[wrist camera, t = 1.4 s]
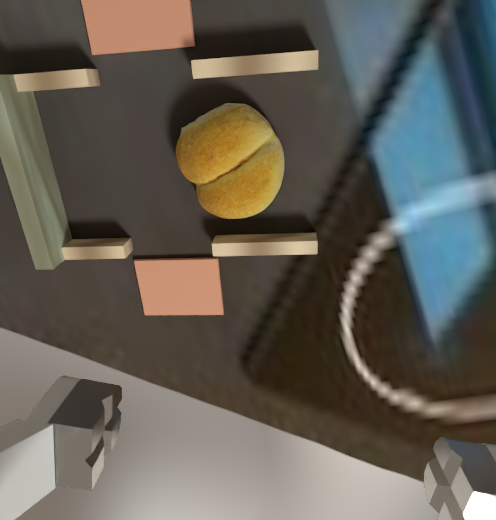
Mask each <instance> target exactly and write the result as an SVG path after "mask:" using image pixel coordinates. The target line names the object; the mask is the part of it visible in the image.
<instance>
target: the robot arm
mask: <svg viewBox="0 0 496 520" xmlns="http://www.w3.org/2000/svg"><path fill="white" fill-rule="evenodd" d="M121 399H122V388H121V387H120V386H119V385H114V384H107V383H103V382H97V381H92V380H86V379H79V378H73V377H68V376H62V377H60V378H58V379H57V380H56V382H55V383H54V384H53V385H52V386H51V388H50V389H49V390H48V391H47V392H46V394H45V395H44V396H43V397H42V398H41V400H40V401H39V402H38V403H37V404H36V406H35V407H34V408H33V409H32V411H31V412H30V413H29V414H28V415H27V417H26V418H25V419H24V420H23V419H16V420H14V421H12V422H10V423H8V424H6V425H4V426H2V427H0V520H15V519H16V518H17V517H19V516H20V515H21V514H23V513H24V512H25V511H26V510H28V509H29V508H30V507H32V506H33V505H34V504H35V503H37V502H38V501H39V500H41V499H42V498H43V497H44V496H46V495H47V494H48V493H49V492H50V491H52V490H53V489H55V486H63V487H70V488H78V489H85V490H92V489H93V487H94V485H95V483H96V481H97V479H98V477H99V475H100V473H101V471H102V469H103V467H104V456H105V455H106V454H108V453H109V452H111V451H112V449H113V446H114V444H115V442H116V439H117V436H118V433H119V429H120V423H121V412H120V410H119V409H118V408H117V407H118V405H119V403H120V401H121ZM433 450H434V452H435V454H436V456H437V457H435V458H434V459H432V460H431V461H429V462H428V463H427V466H426V469H425V472H424V488H425V493H426V496H427V499H428V501H429V504H430V505H431V506H432V507H433V508H434V509H435V510H436V511H437V512H438V513H439V515H438V518H437V520H496V445H491V444H484V443H480V444H479V443H474V442H468V441H461V440H455V439H448V438H442V437H440V438H439V439H438V440H437V441H436V443H435V446H434V448H433Z"/></svg>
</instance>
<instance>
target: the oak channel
mask: <svg viewBox="0 0 496 520" xmlns="http://www.w3.org/2000/svg"><path fill="white" fill-rule="evenodd" d="M191 64H192V73H193V79H199V78H212V77H225V76H239V75H252V74H265V73H279V72H292V71H305V70H317V69H318V50H313V51H301V52H288V53H276V54H264V55H251V56H239V57H226V58H214V59H201V60H191ZM92 86H101V85H100V80H99V75H98V70H97V69H77V70H65V71H52V72H40V73H28V74H15V75H0V157H1V160H2V163H3V167H4V170H5V173H6V176H7V179H8V182H9V186H10V189H11V192H12V195H13V198H14V201H15V205H16V208H17V211H18V214H19V217H20V220H21V224H22V227H23V230H24V233H25V236H26V239H27V243H28V246H29V249H30V252H31V255H32V258H33V262H34V265H35V268H36V270H37V269H54V268H55V267H56V266H58V265H59V264H60V263H61V262H63V261H64V260H72V259H118V258H126V257H127V256H128V255H129V254H130V253H131V252H132V251H133V245H132V240H131V238H104V239H72V236H71V232H70V228H69V225H68V221H67V217H66V213H65V210H64V206H63V202H62V198H61V194H60V191H59V187H58V183H57V179H56V176H55V172H54V168H53V164H52V160H51V157H50V153H49V149H48V145H47V142H46V138H45V134H44V130H43V127H42V123H41V119H40V115H39V111H38V108H37V104H36V100H35V96H34V93H33V91H39V90H52V89H65V88H79V87H92ZM212 251H213V256H253V255H298V254H317V235H316V233H281V234H245V235H216V236H215V238H214V240H213V242H212Z"/></svg>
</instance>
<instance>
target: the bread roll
mask: <svg viewBox="0 0 496 520" xmlns="http://www.w3.org/2000/svg"><path fill="white" fill-rule="evenodd" d="M176 157H177V162H178V166H179V168H180V170H181V172H182V173H183V175H184V176H185V177H186V178H187V179H188V180H189V181H191V182H193V183H195V185H196V193H197V198H198V201H199V203H200V204H201V206H202V207H203V208H204V209H205V210H207V211H208V212H210V213H212V214H214V215H216V216H219V217H221V218H228V219H238V218H246V217H250V216H253V215H255V214H257V213H259V212H261V211H263V210H264V209H265V208H266V207H267V206H268V205H269V204H270V203H271V202H272V201H273V199H274V198H275V196H276V194H277V192H278V190H279V188H280V186H281V183H282V179H283V174H284V153H283V148H282V145H281V143H280V140H279V139H278V137H277V136H276V134H275V133H274V131H273V129H272V127H271V125H270V124H269V122H268V121H267V120H266V119H265V118H264V117H263V116H262V115H261V114H260V113H259V112H258V111H256V110H255V109H253V108H252V107H250V106H249V105H246V104H238V103H225V104H224V105H221V106H219V107H217V108H215V109H213V110H211V111H209V112H207V113H206V114H204V115H202V116H200V117H198V118H197V119H196V120H195V121H194V122H192V123H189V124H188V125H187V126H185V127H183V128H181V135H180V137H179V140H178V142H177V146H176Z"/></svg>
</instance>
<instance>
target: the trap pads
mask: <svg viewBox="0 0 496 520" xmlns="http://www.w3.org/2000/svg"><path fill="white" fill-rule="evenodd" d="M81 2H82V7H83V12H84V17H85V21H86V26H87V31H88V36H89V41H90V46H91V51H92V55H100V54H112V53H124V52H136V51H148V50H159V49H171V48H183V47H195V38H194V29H193V19H192V10H191V1H190V0H81ZM134 264H135V269H136V274H137V279H138V284H139V289H140V293H141V298H142V303H143V308H144V313H145V315H223V314H224V309H223V299H222V290H221V281H220V271H219V262H218V257H216V258H170V259H135V260H134Z"/></svg>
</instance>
